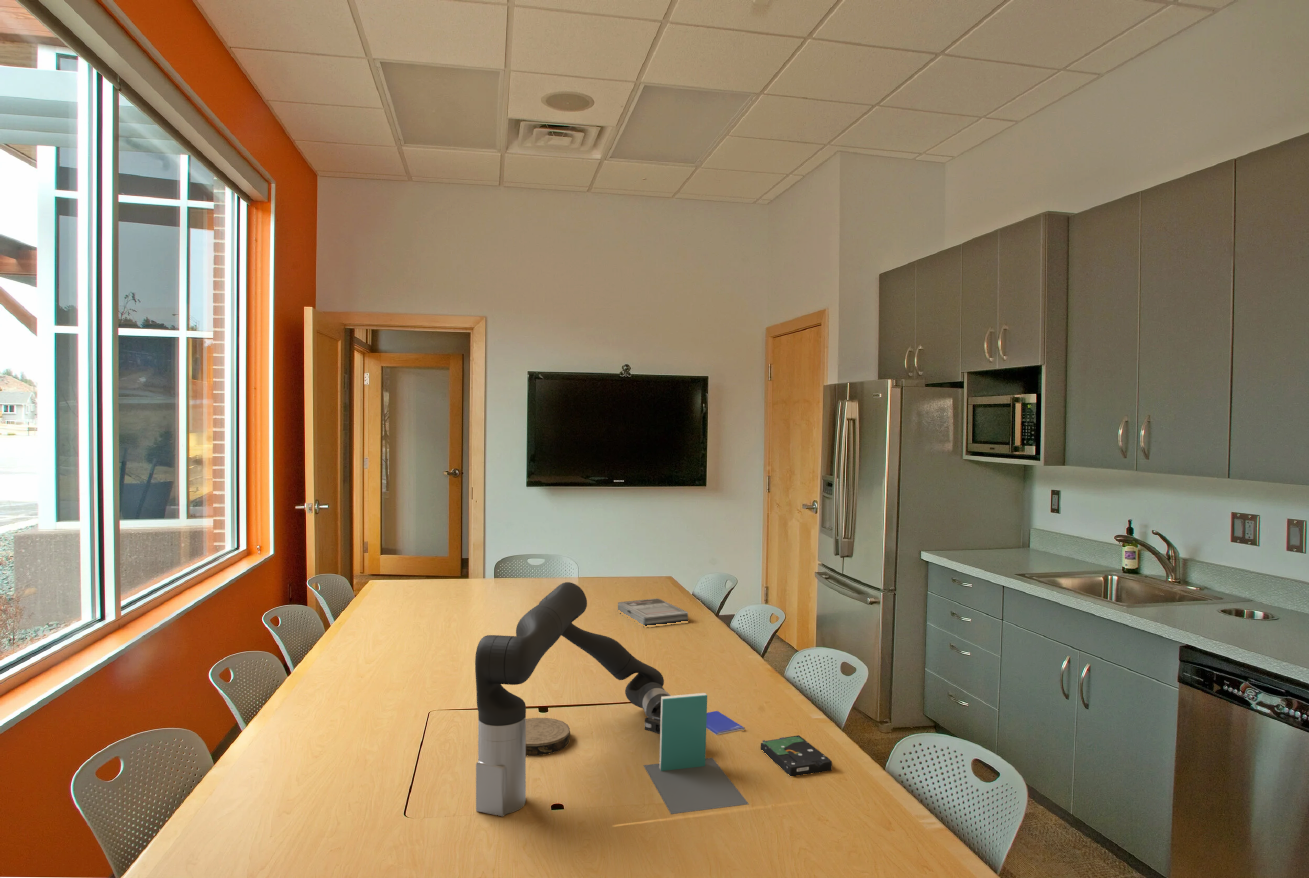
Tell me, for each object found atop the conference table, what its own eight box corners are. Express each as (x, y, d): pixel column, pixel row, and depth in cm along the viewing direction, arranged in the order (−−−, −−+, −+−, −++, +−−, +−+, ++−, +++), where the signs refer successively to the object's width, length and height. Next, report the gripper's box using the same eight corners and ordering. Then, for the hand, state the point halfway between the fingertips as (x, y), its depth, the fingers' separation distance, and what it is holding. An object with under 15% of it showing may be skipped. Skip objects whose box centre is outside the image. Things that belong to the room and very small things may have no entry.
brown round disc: (571, 754, 177) (571, 741, 177) (500, 759, 174) (500, 746, 174) (568, 728, 192) (568, 716, 192) (503, 731, 190) (503, 719, 190)
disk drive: (833, 773, 169) (798, 745, 183) (833, 760, 169) (798, 734, 183) (790, 780, 165) (759, 751, 179) (791, 767, 165) (759, 739, 179)
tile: (659, 767, 168) (661, 696, 167) (702, 762, 171) (705, 692, 170) (661, 771, 167) (663, 699, 166) (705, 766, 170) (707, 695, 168)
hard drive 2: (744, 726, 190) (718, 710, 201) (716, 732, 187) (691, 715, 198) (744, 733, 190) (718, 716, 201) (716, 739, 187) (691, 721, 198)
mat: (643, 767, 170) (643, 765, 170) (712, 759, 174) (712, 757, 174) (670, 816, 149) (671, 814, 149) (748, 806, 153) (748, 804, 153)
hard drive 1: (645, 629, 286) (645, 617, 286) (616, 613, 310) (617, 602, 310) (689, 624, 294) (689, 612, 294) (658, 609, 318) (658, 598, 318)
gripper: (634, 695, 184) (652, 722, 167) (687, 690, 188) (710, 716, 171) (634, 726, 184) (652, 756, 168) (687, 721, 188) (710, 750, 171)
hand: (681, 736), depth 169 cm, fingers closed
